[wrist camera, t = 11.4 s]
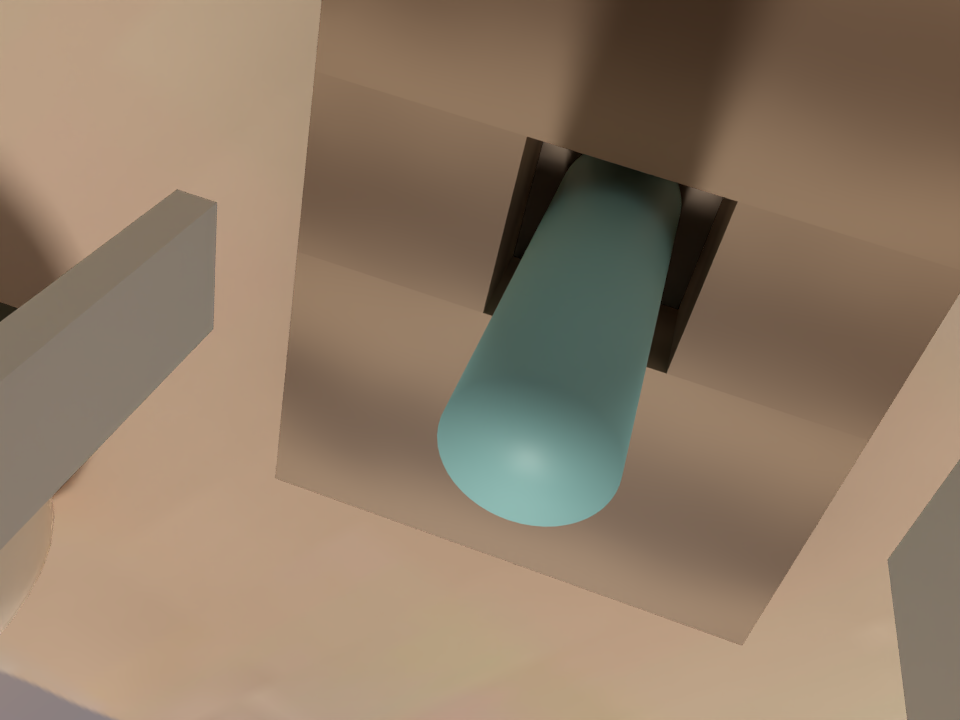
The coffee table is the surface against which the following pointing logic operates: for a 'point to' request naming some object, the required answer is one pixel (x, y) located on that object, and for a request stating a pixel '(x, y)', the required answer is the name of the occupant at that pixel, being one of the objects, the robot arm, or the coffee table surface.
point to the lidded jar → (24, 562)
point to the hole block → (678, 333)
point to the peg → (565, 352)
